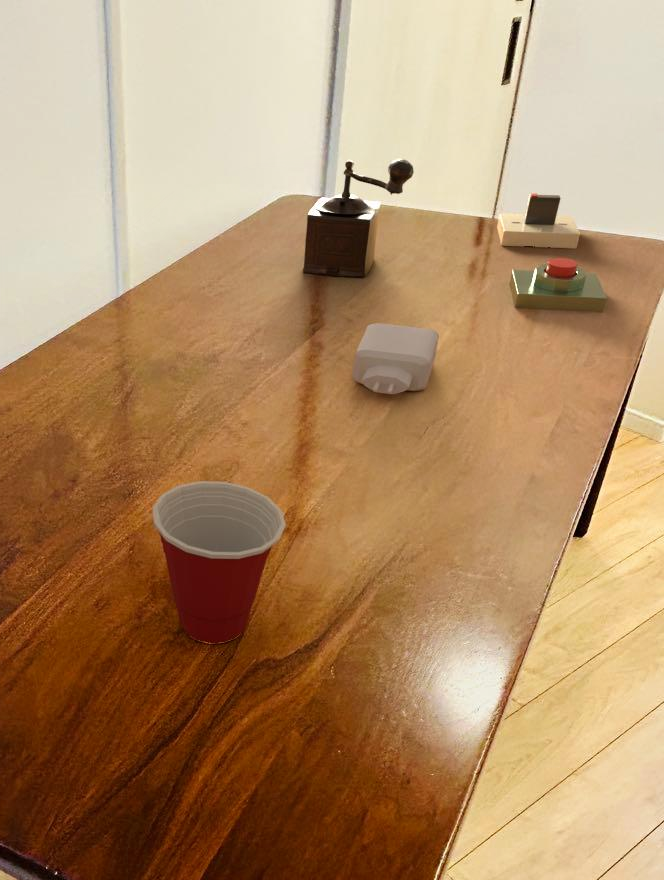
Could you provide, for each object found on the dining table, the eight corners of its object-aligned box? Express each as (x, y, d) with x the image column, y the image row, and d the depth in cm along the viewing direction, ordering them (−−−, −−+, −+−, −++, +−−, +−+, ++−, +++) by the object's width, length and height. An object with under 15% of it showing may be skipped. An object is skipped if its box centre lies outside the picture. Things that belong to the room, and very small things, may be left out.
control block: (592, 287, 138) (599, 261, 136) (602, 312, 131) (610, 286, 128) (509, 283, 141) (514, 258, 139) (514, 307, 133) (520, 281, 131)
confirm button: (572, 270, 135) (575, 258, 134) (576, 279, 132) (579, 268, 131) (544, 268, 136) (546, 257, 135) (547, 278, 133) (549, 266, 132)
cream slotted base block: (568, 230, 160) (572, 214, 158) (576, 248, 152) (580, 232, 151) (497, 227, 163) (500, 212, 161) (501, 245, 155) (504, 230, 153)
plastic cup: (295, 653, 76) (307, 539, 69) (172, 676, 75) (170, 562, 68) (254, 576, 85) (260, 467, 78) (142, 595, 83) (138, 486, 76)
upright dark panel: (553, 222, 156) (559, 193, 153) (554, 224, 155) (561, 196, 152) (523, 221, 157) (529, 193, 154) (524, 223, 156) (530, 195, 153)
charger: (341, 404, 112) (363, 354, 123) (418, 415, 109) (434, 363, 120) (345, 369, 109) (367, 321, 120) (424, 379, 106) (440, 329, 117)
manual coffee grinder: (299, 274, 148) (308, 158, 137) (314, 252, 156) (323, 141, 146) (396, 283, 143) (413, 163, 132) (406, 260, 151) (422, 146, 141)
